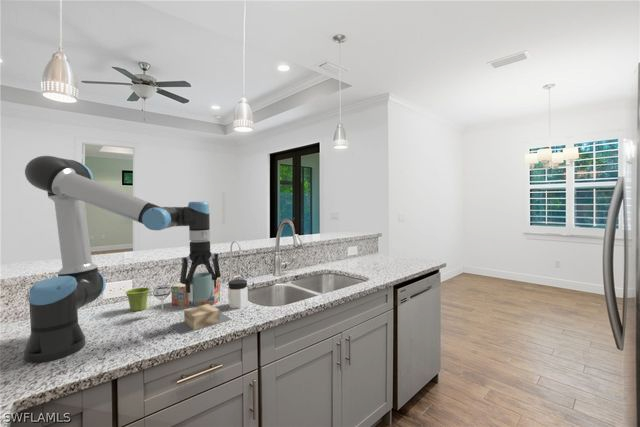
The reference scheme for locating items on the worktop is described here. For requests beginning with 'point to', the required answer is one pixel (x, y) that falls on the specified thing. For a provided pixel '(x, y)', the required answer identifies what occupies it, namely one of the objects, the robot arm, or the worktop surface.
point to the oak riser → (201, 316)
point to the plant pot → (137, 298)
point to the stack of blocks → (182, 299)
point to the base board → (184, 328)
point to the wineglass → (161, 294)
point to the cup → (202, 286)
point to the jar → (238, 293)
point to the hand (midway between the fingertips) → (201, 298)
